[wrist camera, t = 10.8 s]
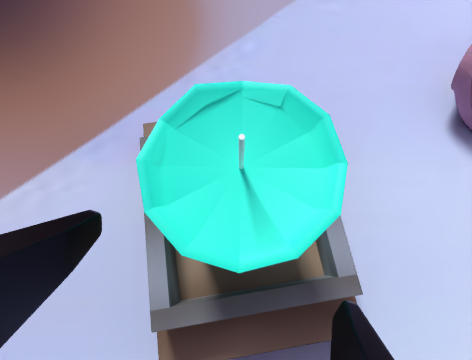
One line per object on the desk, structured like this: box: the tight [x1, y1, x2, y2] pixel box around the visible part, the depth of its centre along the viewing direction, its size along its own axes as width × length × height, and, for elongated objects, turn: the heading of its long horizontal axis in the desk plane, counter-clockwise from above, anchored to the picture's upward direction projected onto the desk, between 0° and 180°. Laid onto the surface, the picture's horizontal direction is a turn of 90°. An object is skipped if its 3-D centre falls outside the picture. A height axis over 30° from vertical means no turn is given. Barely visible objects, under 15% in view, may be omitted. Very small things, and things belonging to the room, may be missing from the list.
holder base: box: [140, 122, 363, 360], centre depth 17 cm, size 16×12×4 cm
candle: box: [136, 81, 348, 273], centre depth 12 cm, size 6×6×12 cm
